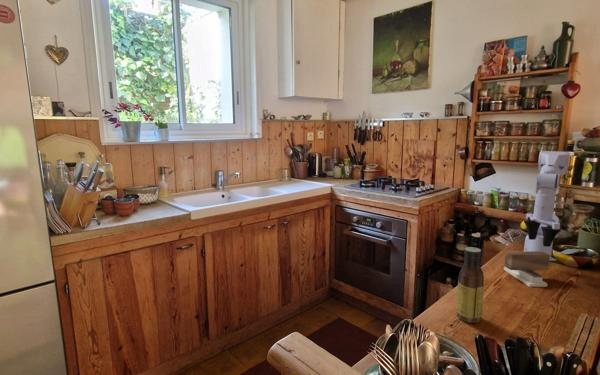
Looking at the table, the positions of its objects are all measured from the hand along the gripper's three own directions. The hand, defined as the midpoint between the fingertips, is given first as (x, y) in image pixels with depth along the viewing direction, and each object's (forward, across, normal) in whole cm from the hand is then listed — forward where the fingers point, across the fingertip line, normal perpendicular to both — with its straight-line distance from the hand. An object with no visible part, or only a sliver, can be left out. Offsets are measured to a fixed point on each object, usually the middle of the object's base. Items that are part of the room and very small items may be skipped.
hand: (539, 242), depth 125 cm
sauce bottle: (+11, +33, -42) cm, 54 cm away
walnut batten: (+7, +7, -9) cm, 13 cm away
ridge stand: (+10, +7, -9) cm, 15 cm away
